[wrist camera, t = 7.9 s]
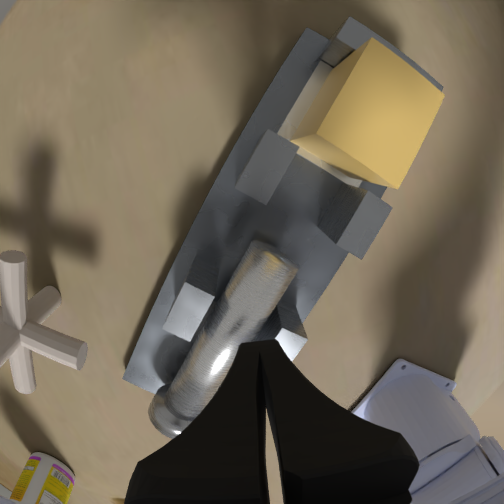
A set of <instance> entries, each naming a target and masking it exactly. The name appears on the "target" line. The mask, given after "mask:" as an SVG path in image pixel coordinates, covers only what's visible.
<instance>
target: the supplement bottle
mask: <svg viewBox="0 0 504 504" xmlns="http://www.w3.org/2000/svg"><path fill="white" fill-rule="evenodd" d="M74 482H75V476H74V474H73V473H72V471H71V470H70V469H69V468H68V467H67V466H66V465H65V464H63V463H62V462H60V461H59V460H57V459H56V458H54V457H52V456H50V455H47V454H45V453H41V452H35V453H33V454H31V456H30V458H29V460H28V461H27V463H26V465H25V468H24V469H23V472H22V474H21V476H20V478H19V480H18V482H17V484H16V486H15V488H14V490H13V492H12V495H11V497H10V500H12V501H13V502H15V503H16V504H67V502H68V499H69V497H70V494H71V491H72V488H73V486H74Z"/></svg>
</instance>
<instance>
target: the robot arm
mask: <svg viewBox="0 0 504 504" xmlns="http://www.w3.org/2000/svg"><path fill="white" fill-rule="evenodd" d="M403 365H404V366H403ZM402 366H403V367H402ZM455 387H456V382H455V381H453V380H451V379H448V378H446V377H444V376H441V375H439V374H436V373H434V372H432V371H429V370H427V369H425V368H422V367H420V366H417V365H415V364H413V363H411V362H408V361H406V360H404V359H398V360H396V361H395V362H394V363H393V364H392V366H391V367H390V368H389V369H388V371H387V372H386V373H385V374H384V375H383V377H382V378H381V379H380V380H379V381H378V382H377V384H376V385H375V386H374V387H373V388H372V389H371V391H370V392H369V393H368V394H367V395H366V396H365V397H364V398H363V400H362V401H361V402H360V403H359V404H358V405H357V406H356V407H355V408H354V409H353V410H352V411H351V412H350V411H348V410H346V409H345V408H343V407H341V406H340V405H338V404H337V403H335V402H334V401H332V400H331V399H330V398H328V397H327V396H326V395H325V394H323V393H322V392H321V391H320V390H318V389H317V388H316V387H315V386H314V385H313V384H312V383H311V382H310V381H309V380H308V379H307V378H306V377H305V376H304V375H303V374H302V373H301V372H300V371H299V370H298V368H297V367H296V366H295V365H294V364H293V363H292V361H291V360H290V359H289V357H288V356H287V355H286V353H285V352H284V350H283V349H282V347H281V345H280V343H279V341H277V340H276V339H271V340H262V341H253V342H244V343H241V344H240V345H239V347H238V350H237V353H236V356H235V358H234V361H233V363H232V365H231V367H230V369H229V371H228V373H227V375H226V377H225V378H224V380H223V382H222V383H221V385H220V387H219V388H218V390H217V391H216V393H215V394H214V396H213V397H212V399H211V400H210V401H209V403H208V404H207V405H206V406H205V408H204V409H203V410H202V411H201V412H200V414H199V415H198V416H197V417H196V418H195V419H194V420H193V421H192V422H191V423H190V424H189V425H188V426H187V427H186V428H185V429H184V430H183V431H182V432H181V433H179V434H178V435H177V436H176V437H175V438H173V439H172V440H171V441H170V442H168V443H167V444H166V445H165V446H163V447H162V448H160V449H159V450H157V451H156V452H154V453H152V454H151V455H149V456H148V457H146V458H144V459H143V460H141V461H139V462H138V463H137V465H136V468H135V470H134V472H133V474H132V477H131V479H130V482H129V486H128V490H127V494H126V498H125V502H124V504H270V500H269V490H268V480H267V470H266V455H265V448H266V409H267V413H268V417H269V422H270V426H271V430H272V434H273V439H274V443H275V447H276V451H277V456H278V462H279V470H280V478H281V486H282V494H283V502H284V504H504V450H503V449H502V447H501V446H500V445H499V443H498V442H497V441H496V439H495V438H494V437H493V436H491V437H486V436H483V437H482V438H481V439H480V434H479V430H478V428H477V426H476V425H475V423H474V422H473V421H472V419H471V418H470V417H469V415H468V414H467V413H466V411H465V410H464V408H463V407H462V406H461V405H460V403H459V402H458V401H457V399H456V398H455V397H454V395H453V394H452V393H451V392H452V391H453V389H454V388H455ZM481 446H482V447H481ZM0 504H16V503H15V502H13V501H12V500H10V499H8V498H5V497H3V496H1V495H0Z"/></svg>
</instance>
